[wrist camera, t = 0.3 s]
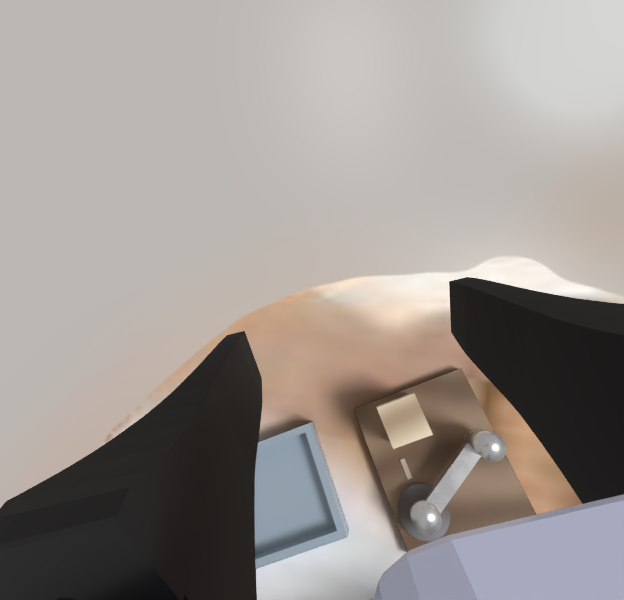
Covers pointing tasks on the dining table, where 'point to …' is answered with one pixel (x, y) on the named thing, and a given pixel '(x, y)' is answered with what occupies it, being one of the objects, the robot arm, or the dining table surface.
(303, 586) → the dining table surface
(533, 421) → the robot arm
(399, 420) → the block
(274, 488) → the tray
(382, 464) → the board
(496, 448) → the crank lever
